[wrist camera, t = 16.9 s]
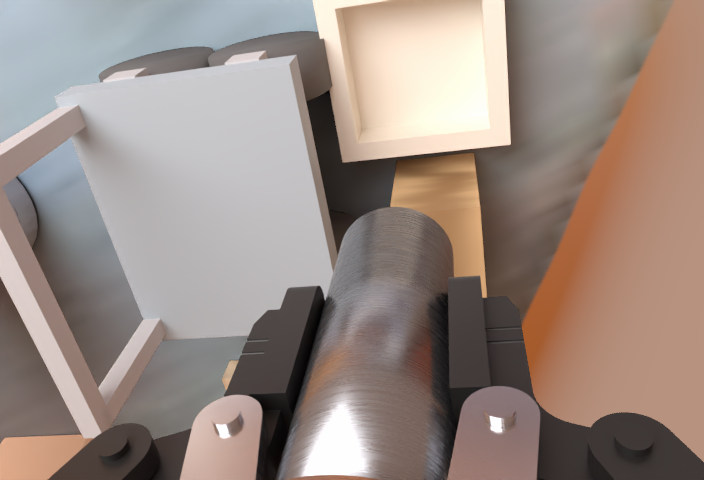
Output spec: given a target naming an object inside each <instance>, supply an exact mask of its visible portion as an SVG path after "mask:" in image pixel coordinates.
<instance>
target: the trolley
mask: <svg viewBox="0 0 704 480" xmlns="http://www.w3.org/2000/svg"><path fill="white" fill-rule="evenodd" d="M99 79H100V83H93V84H86V85H79V86H72V87H70V88H69V89H67V90H65V91H63V92H62V93H60V94H58V95H57V96H55V97H54V98H55V100H56V103H57V105H58V108H57V109H55V110H54V111H52V112H51V113H49V114H47V115H46V116H44V117H43V118H41V119H39V120H38V121H36V122H35V123H33V124H31V125H30V126H28V127H27V128H25V129H23V130H22V131H20V132H18V133H17V134H15V135H14V136H12V137H10V138H9V139H7V140H6V141H4V142H2V143H1V144H0V277H1V279H2V281H3V283H4V285H5V287H6V289H7V291H8V293H9V295H10V297H11V298H12V300H13V302H14V304H15V306H16V308H17V310H18V312H19V314H20V316H21V318H22V320H23V322H24V324H25V326H26V327H27V329H28V331H29V333H30V335H31V337H32V339H33V341H34V343H35V345H36V347H37V349H38V351H39V353H40V355H41V356H42V358H43V360H44V362H45V364H46V366H47V368H48V370H49V372H50V374H51V376H52V378H53V380H54V382H55V384H56V386H57V387H58V389H59V391H60V393H61V395H62V397H63V399H64V401H65V403H66V405H67V407H68V409H69V411H70V413H71V415H72V416H73V418H74V420H75V422H76V424H77V426H78V428H79V430H80V432H81V434H82V436H83V438H95V437H96V436H98V435H99V434H101V433H102V432H104V431H106V430H108V429H109V428H110V427H111V425H112V423H113V422H114V420H115V418H116V417H117V415H118V413H119V412H120V410H121V408H122V406H123V405H124V403H125V401H126V400H127V398H128V396H129V395H130V393H131V391H132V390H133V388H134V386H135V384H136V383H137V381H138V379H139V378H140V376H141V374H142V373H143V371H144V369H145V368H146V366H147V364H148V362H149V361H150V359H151V357H152V356H153V354H154V352H155V351H156V349H157V347H158V346H159V344H160V342H161V341H162V340H177V339H195V338H212V337H230V336H247V335H249V334H250V332H251V330H252V327H253V325H254V323H255V322H256V321H257V320H258V319H259V318H260V317H261V316H262V315H263V314H264V313H265V312H266V311H267V310H277V309H280V308H281V305H282V302H283V299H284V297H285V294H286V291H287V289H288V288H291V287H306V286H321V288H322V290H323V294H324V298H325V300H326V297H327V293H328V290H329V286H330V282H331V279H332V275H333V272H334V268H335V265H336V261H337V258H338V254H339V250H340V247H341V243H342V240H343V238H344V235H345V233H346V232H347V230H348V228H349V227H350V226H351V225H352V224H353V223H354V222H355V221H356V220H355V219H354V218H353V217H352V216H350V215H348V214H345V213H342V212H336V211H328V206H327V201H326V197H325V192H324V187H323V182H322V177H321V172H320V167H319V162H318V157H317V153H316V148H315V143H314V138H313V133H312V128H311V123H310V118H309V113H308V108H307V104H306V101H309V100H311V99H313V98H316V97H318V96H320V95H322V94H323V93H325V92H326V91H328V90H329V89H330V88H331V87H332V81H331V75H330V70H329V64H328V59H327V53H326V48H325V42H324V38H323V39H320V37H319V32H313V31H299V32H288V33H280V34H274V35H268V36H263V37H258V38H254V39H250V40H246V41H242V42H239V43H236V44H233V45H230V46H227V47H225V48H222V49H220V50H218V51H216V52H214V51H213V49H212V48H209V47H187V48H179V49H173V50H167V51H162V52H157V53H153V54H149V55H145V56H141V57H137V58H134V59H131V60H128V61H125V62H122V63H119V64H117V65H114V66H112V67H110V68H108V69H106V70H104V71H103V72H101V73H100V75H99ZM69 138H71V140H72V143H73V145H74V148H75V150H76V153H77V155H78V158H79V160H80V163H81V165H82V168H83V170H84V173H85V175H86V178H87V180H88V182H89V185H90V187H91V190H92V192H93V195H94V197H95V200H96V202H97V205H98V207H99V210H100V212H101V215H102V217H103V220H104V222H105V225H106V227H107V230H108V232H109V235H110V237H111V240H112V242H113V245H114V247H115V250H116V252H117V255H118V257H119V260H120V262H121V265H122V267H123V270H124V272H125V275H126V277H127V280H128V282H129V285H130V287H131V290H132V292H133V295H134V297H135V300H136V302H137V305H138V307H139V309H140V312H141V314H142V317H143V321H142V322H141V324H140V325H139V327H138V328H137V330H136V331H135V333H134V334H133V336H132V338H131V339H130V341H129V342H128V344H127V345H126V347H125V348H124V350H123V351H122V353H121V354H120V356H119V357H118V359H117V360H116V362H115V363H114V365H113V366H112V368H111V369H110V371H109V372H108V374H107V375H106V377H105V378H104V380H103V382H102V383H101V385H100V386H99V388H98V387H97V385H96V383H95V381H94V378H93V376H92V374H91V372H90V370H89V368H88V366H87V364H86V362H85V360H84V357H83V355H82V353H81V351H80V349H79V347H78V345H77V343H76V341H75V339H74V336H73V334H72V332H71V330H70V328H69V326H68V324H67V322H66V320H65V318H64V315H63V313H62V311H61V309H60V307H59V305H58V303H57V301H56V299H55V297H54V294H53V292H52V290H51V288H50V286H49V284H48V282H47V280H46V278H45V276H44V273H43V271H42V269H41V267H40V265H39V263H38V261H37V259H36V257H35V255H34V252H33V250H32V248H31V246H30V244H29V242H28V240H27V238H26V236H25V234H24V231H23V229H22V227H21V225H20V223H19V221H18V219H17V217H16V215H15V213H14V210H13V208H12V206H11V204H10V202H9V200H8V198H7V196H6V194H5V191H4V189H3V186H4V185H5V184H7V183H8V182H10V181H11V180H12V179H14V178H15V177H17V176H18V175H19V174H21V173H22V172H23V171H25V170H26V169H28V168H29V167H30V166H32V165H33V164H34V163H36V162H37V161H39V160H40V159H41V158H43V157H44V156H46V155H47V154H48V153H50V152H51V151H52V150H54V149H55V148H57V147H58V146H59V145H61V144H62V143H64V142H65V141H66V140H68V139H69Z"/></svg>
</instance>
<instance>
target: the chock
mask: <svg viewBox="0 0 704 480" xmlns="http://www.w3.org/2000/svg"><path fill="white" fill-rule="evenodd" d="M390 207H404V208H410V209H413V210H416V211H419V212H422V213H424V214H425V215H427V216H429V217H430V218H432V219H433V220H435V221H436V222H437V223H438V224H439V225H440V226H441V227H442V228H443V230H444V231H445V232H446V234H447V235H448V237H449V240H450V242H451V245H452V248H453V257H454V277H464V276H479V275H480V278H481V288H482V298H486V297H487V292H486V278H485V265H484V251H483V237H482V224H481V210H480V201H479V192H478V184H477V176H476V167H475V159H474V153H464V154H455V155H446V156H436V157H427V158H417V159H408V160H399V161H397V163H396V170H395V177H394V184H393V190H392V197H391V204H390Z"/></svg>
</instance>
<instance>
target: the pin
mask: <svg viewBox="0 0 704 480" xmlns="http://www.w3.org/2000/svg"><path fill="white" fill-rule="evenodd" d="M448 277H454V257H453V248H452V245H451V242H450V240H449V237H448V235H447V234H446V232H445V231H444V230H443V228H442V227H441V226H440V225H439V224H438V223H437V222H436V221H435V220H433V219H432V218H430V217H429V216H427V215H425V214H424V213H422V212H419V211H416V210H413V209H410V208H404V207H384V208H380V209H376V210H373V211H370V212H368V213H366V214H364V215H363V216H361V217H360V218H358V219H357V220H356V221H355V222H354V223H353V224H352V225H351V226H350V227H349V228H348V230H347V232H346V233H345V235H344V238H343V240H342V243H341V247H340V250H339V254H338V258H337V261H336V265H335V268H334V272H333V275H332V279H331V282H330V286H329V290H328V293H327V297H326V300H325V304H324V307H323V311H322V315H321V318H320V322H319V325H318V329H317V332H316V336H315V339H314V343H313V347H312V350H311V354H310V357H309V361H308V364H307V368H306V371H305V375H304V379H303V382H302V386H301V389H300V393H299V396H298V400H297V404H296V407H295V411H294V414H293V418H292V421H291V425H290V428H289V432H288V436H287V439H286V443H285V446H284V450H283V453H282V457H281V460H280V464H279V468H278V471H277V475H276V478H275V480H447V478H448V473H449V468H450V463H451V458H452V453H453V448H454V443H455V438H456V433H457V425H456V422H455V419H454V417H453V415H452V407H451V398H450V389H449V324H448Z"/></svg>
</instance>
